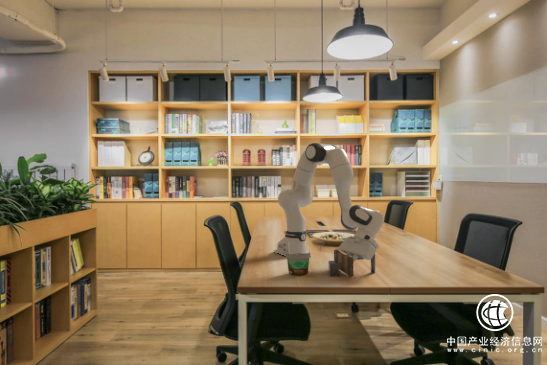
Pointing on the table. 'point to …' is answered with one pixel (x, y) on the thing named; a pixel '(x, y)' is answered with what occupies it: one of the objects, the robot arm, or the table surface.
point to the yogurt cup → (298, 263)
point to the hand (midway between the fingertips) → (347, 262)
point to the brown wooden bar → (345, 263)
